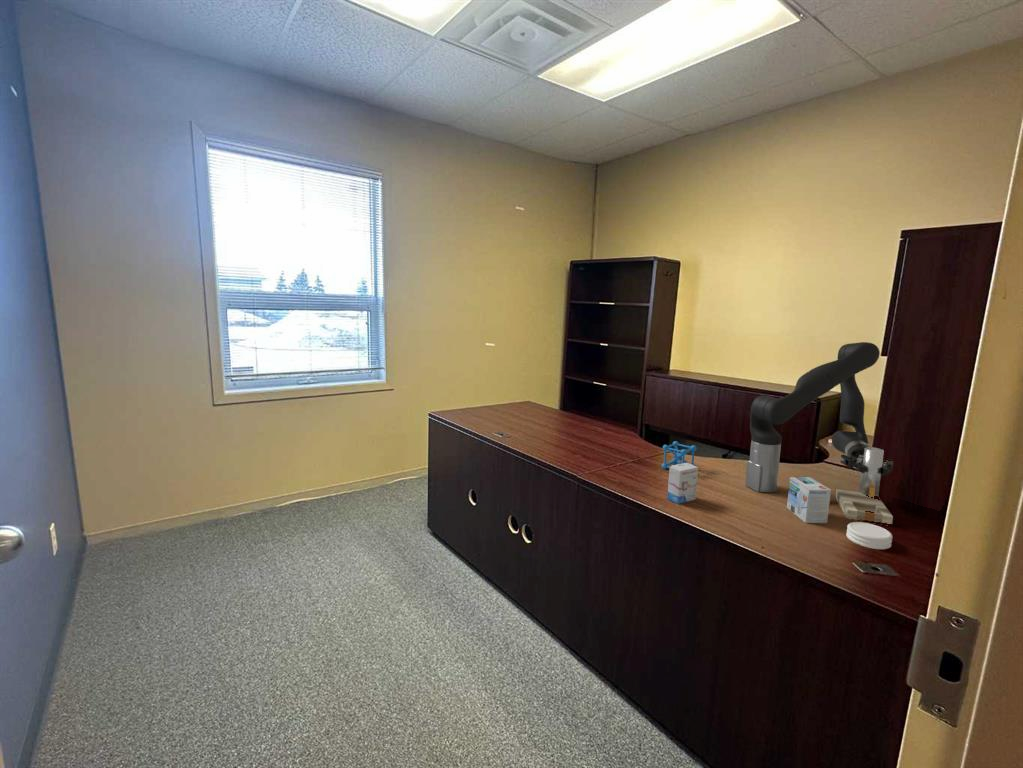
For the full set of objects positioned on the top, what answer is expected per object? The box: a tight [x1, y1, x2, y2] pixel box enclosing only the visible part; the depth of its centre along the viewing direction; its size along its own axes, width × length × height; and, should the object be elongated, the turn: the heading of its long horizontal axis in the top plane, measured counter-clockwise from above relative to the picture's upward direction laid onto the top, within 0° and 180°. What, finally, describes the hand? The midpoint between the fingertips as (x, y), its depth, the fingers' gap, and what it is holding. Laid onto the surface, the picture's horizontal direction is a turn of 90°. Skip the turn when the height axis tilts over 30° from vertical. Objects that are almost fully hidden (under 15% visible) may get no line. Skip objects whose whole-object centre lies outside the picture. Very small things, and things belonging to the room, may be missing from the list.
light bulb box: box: [786, 476, 832, 524], centre depth 143 cm, size 11×7×11 cm, turn 178°
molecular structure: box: [661, 440, 697, 470], centre depth 185 cm, size 10×10×10 cm
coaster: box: [845, 521, 893, 550], centre depth 129 cm, size 10×10×4 cm
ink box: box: [666, 462, 699, 505], centre depth 155 cm, size 9×5×12 cm, turn 117°
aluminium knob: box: [858, 446, 885, 498], centre depth 141 cm, size 6×5×14 cm
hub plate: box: [835, 488, 894, 525], centre depth 147 cm, size 18×11×3 cm, turn 154°
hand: (874, 471), depth 139 cm, fingers closed on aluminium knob, 4 cm apart
